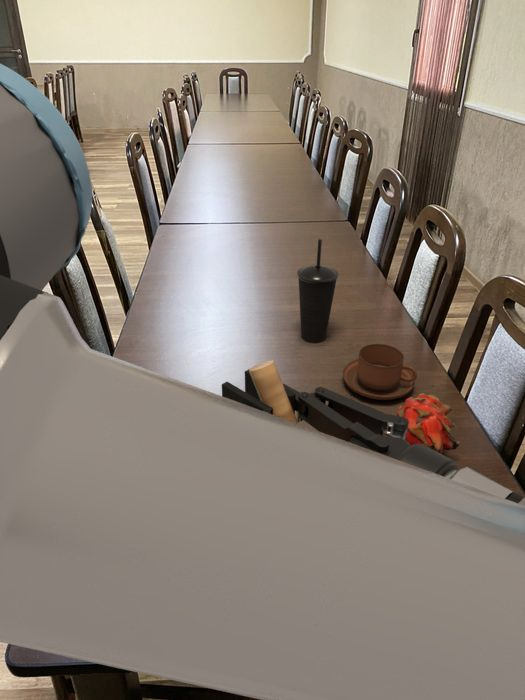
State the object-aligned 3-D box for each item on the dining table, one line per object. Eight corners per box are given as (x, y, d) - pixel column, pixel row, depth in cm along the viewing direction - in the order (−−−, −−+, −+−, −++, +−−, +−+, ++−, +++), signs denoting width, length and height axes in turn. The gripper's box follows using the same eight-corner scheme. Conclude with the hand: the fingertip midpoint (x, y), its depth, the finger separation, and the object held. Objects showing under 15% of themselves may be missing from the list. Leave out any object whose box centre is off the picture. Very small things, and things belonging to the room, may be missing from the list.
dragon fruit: (414, 425, 85) (429, 489, 76) (375, 402, 82) (385, 464, 73) (456, 396, 81) (477, 459, 72) (416, 369, 78) (433, 432, 69)
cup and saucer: (408, 368, 97) (413, 338, 94) (417, 409, 87) (424, 377, 83) (341, 364, 98) (344, 335, 95) (342, 404, 88) (346, 372, 84)
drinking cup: (299, 348, 102) (305, 249, 92) (289, 329, 109) (293, 234, 98) (338, 344, 104) (347, 246, 93) (326, 326, 110) (333, 231, 100)
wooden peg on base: (349, 464, 55) (304, 347, 53) (299, 507, 50) (247, 379, 48) (315, 462, 59) (272, 353, 57) (265, 502, 54) (216, 384, 52)
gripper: (378, 599, 40) (180, 449, 54) (473, 487, 50) (284, 385, 64) (391, 530, 36) (174, 388, 50) (492, 424, 46) (286, 330, 60)
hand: (236, 387), depth 57 cm, fingers closed on wooden peg on base, 3 cm apart
